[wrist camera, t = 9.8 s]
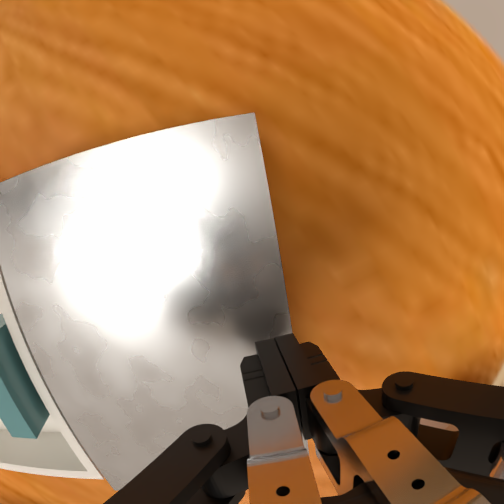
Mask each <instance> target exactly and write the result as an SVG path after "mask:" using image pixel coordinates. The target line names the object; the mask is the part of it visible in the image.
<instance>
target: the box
mask: <svg viewBox="0 0 504 504" xmlns="http://www.w3.org/2000/svg"><path fill="white" fill-rule="evenodd" d="M1 313H2V314H3V317H4V319H5V322H6V325H7V327H8V330H9V332H10V335H11V337H12V340H13V342H14V344H15V347H16V349H17V351H18V353H19V356H20V358H21V360H22V362H23V364H24V366H25V369H26V371H27V373H28V375H29V377H30V379H31V381H32V383H33V385H34V387H35V388H36V390H37V392H38V394H39V396H40V398H41V400H42V401H43V403H44V405H45V407H46V409H47V410H48V412H49V414H50V415H49V417H48V419H47V421H46V423H45V424H44V426H43V428H42V430H41V432H40V434H39V436H38V437H37V439H30V438H17V437H12V436H11V434H10V433H9V431H8V430H7V428H6V427H5V425H4V424H3V422H2V420H1V419H0V468H1V469H6V470H12V471H18V472H24V473H31V474H39V475H47V476H57V477H68V478H85V479H104V476H103V474H102V473H101V472H100V470H99V469H98V468H97V466H96V465H95V463H94V462H93V461H92V459H91V458H90V456H89V455H88V453H87V452H86V450H85V449H84V447H83V446H82V444H81V443H80V441H79V440H78V438H77V436H76V435H75V433H74V432H73V430H72V428H71V427H70V425H69V423H68V422H67V420H66V418H65V417H64V415H63V413H62V411H61V410H60V408H59V406H58V404H57V403H56V401H55V399H54V397H53V395H52V393H51V391H50V389H49V387H48V386H47V384H46V382H45V380H44V378H43V375H42V373H41V371H40V369H39V367H38V365H37V363H36V361H35V359H34V356H33V354H32V352H31V350H30V347H29V345H28V343H27V340H26V338H25V335H24V333H23V330H22V328H21V325H20V323H19V320H18V317H17V315H16V312H15V309H14V306H13V303H12V301H11V298H10V295H9V292H8V289H7V285H6V282H5V279H4V276H3V272H2V269H1V265H0V314H1Z"/></svg>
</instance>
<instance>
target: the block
mask: <svg viewBox="0 0 504 504" xmlns="http://www.w3.org/2000/svg"><path fill="white" fill-rule="evenodd" d="M49 415H50V414H49V412H48V410H47V409H46V407H45V405H44V403H43V401H42V400H41V398H40V396H39V394H38V392H37V390H36V388H35V387H34V385H33V383H32V381H31V379H30V377H29V375H28V373H27V371H26V369H25V366H24V364H23V362H22V360H21V358H20V356H19V353H18V351H17V349H16V347H15V344H14V342H13V340H12V337H11V335H10V332H9V330H8V327H7V325H6V322H5V319H4V317H3V314H2V313H1V314H0V419H1V420H2V422H3V424H4V425H5V427H6V428H7V430H8V431H9V433H10V434H11V436H12V437H17V438H30V439H37V437H38V436H39V434H40V432H41V430H42V428H43V426H44V424H45V423H46V421H47V419H48V417H49Z"/></svg>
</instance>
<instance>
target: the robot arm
mask: <svg viewBox="0 0 504 504" xmlns="http://www.w3.org/2000/svg"><path fill="white" fill-rule="evenodd" d="M255 348H256V353H257V354H255V355H251V356H246V357H244V358H243V360H242V362H241V364H240V369H241V374H242V379H243V384H244V389H245V394H246V399H247V404H248V410H247V414H246V416H245V417H244V419H243V420H242V421H240V422H239V423H238V424H236V425H234V426H232V427H230V428H227V429H225V430H224V429H223V428H221V427H220V426H218V425H214V424H200V425H196V426H193V427H191V428H189V429H188V430H186V431H185V432H184V433H183V434H182V435H181V436H180V437H178V438H177V439H176V440H175V441H174V442H173V443H172V444H171V445H170V446H169V447H168V448H167V449H166V450H165V451H163V452H162V453H161V454H160V455H159V456H158V457H157V458H156V459H155V460H154V461H152V462H151V463H150V464H149V465H148V466H147V467H146V468H145V469H143V470H142V471H141V472H140V473H139V474H138V475H137V476H135V477H134V478H133V479H132V480H131V481H130V482H129V483H127V484H126V485H125V486H124V487H123V488H122V489H120V490H119V491H118V492H117V493H116V494H114V495H113V496H112V497H111V498H110V499H108V500H107V501H106V502H105V503H103V504H238V503H239V502H240V501H241V499H242V498H243V497H244V495H245V491H246V490H247V489H249V500H250V504H504V387H502V386H494V385H486V384H479V383H472V382H466V381H459V380H453V379H447V378H441V377H436V376H430V375H424V374H419V373H414V372H398V373H394V374H392V375H390V376H388V377H387V378H386V379H385V380H384V382H383V384H382V388H379V389H371V390H357V389H356V388H355V387H354V386H353V385H352V384H351V383H349V382H347V381H343V380H340V378H339V377H338V375H337V374H336V372H335V371H334V369H333V368H332V366H331V365H330V363H329V362H328V361H327V359H326V357H325V356H324V355H323V353H322V352H321V350H320V349H319V347H318V346H316V345H314V344H312V343H311V342H305V343H301V344H299V343H298V341H297V339H296V338H295V336H294V334H293V333H290V334H286V335H282V336H278V337H274V339H273V338H269V339H265V340H260V341H256V342H255ZM421 418H423V419H428V420H432V421H437V422H442V423H447V424H451V425H454V426H456V427H457V428H458V430H459V431H450V430H445V429H440V428H435V427H431V426H426V425H422V424H420V419H421ZM302 434H303V437H304V439H305V440H308V439H311V438H313V440H314V442H315V447H316V455H317V457H318V459H319V461H320V462H321V464H322V466H323V468H324V470H325V471H326V473H327V475H328V477H329V479H330V480H331V482H332V484H333V486H334V487H335V489H336V491H337V493H338V496H331V497H322V498H320V495H319V491H318V488H317V484H316V480H315V477H314V473H313V469H312V466H311V462H310V458H309V455H308V452H307V449H306V448H305V447H304V444H303V438H302Z"/></svg>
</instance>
